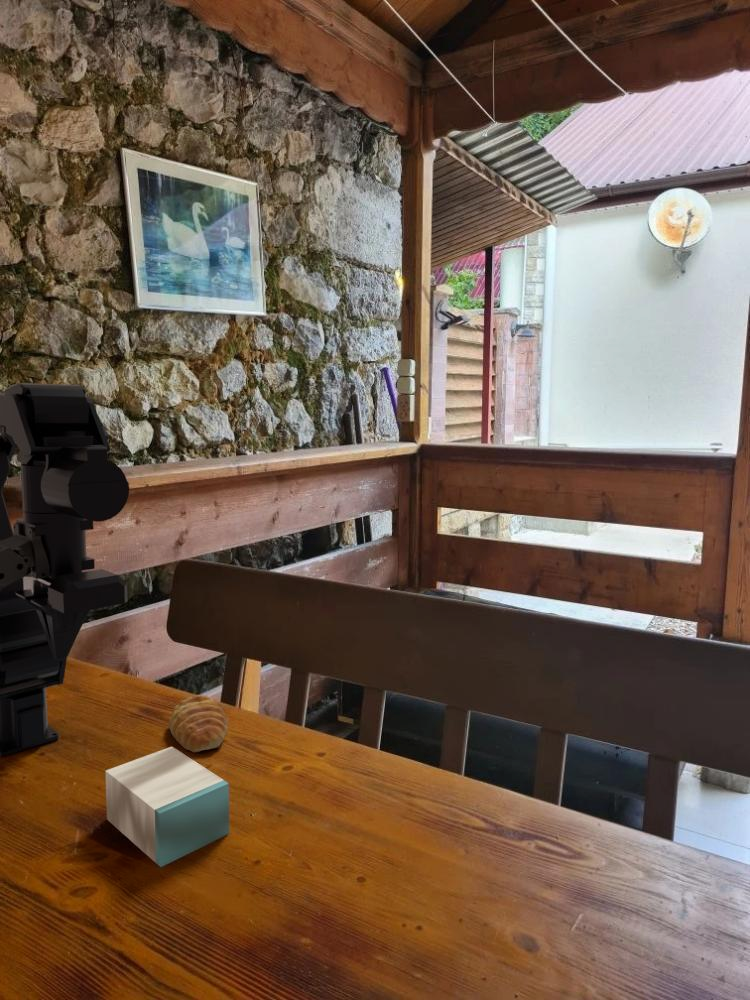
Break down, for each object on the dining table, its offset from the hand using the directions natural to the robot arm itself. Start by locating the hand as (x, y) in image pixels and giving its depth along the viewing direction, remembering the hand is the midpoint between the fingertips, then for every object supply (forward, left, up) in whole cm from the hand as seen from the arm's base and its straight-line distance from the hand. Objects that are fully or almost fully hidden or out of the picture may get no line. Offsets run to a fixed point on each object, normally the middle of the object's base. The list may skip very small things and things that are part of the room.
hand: (60, 658), depth 74 cm
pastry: (+1, +16, -14) cm, 21 cm away
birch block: (+10, +3, -11) cm, 15 cm away
